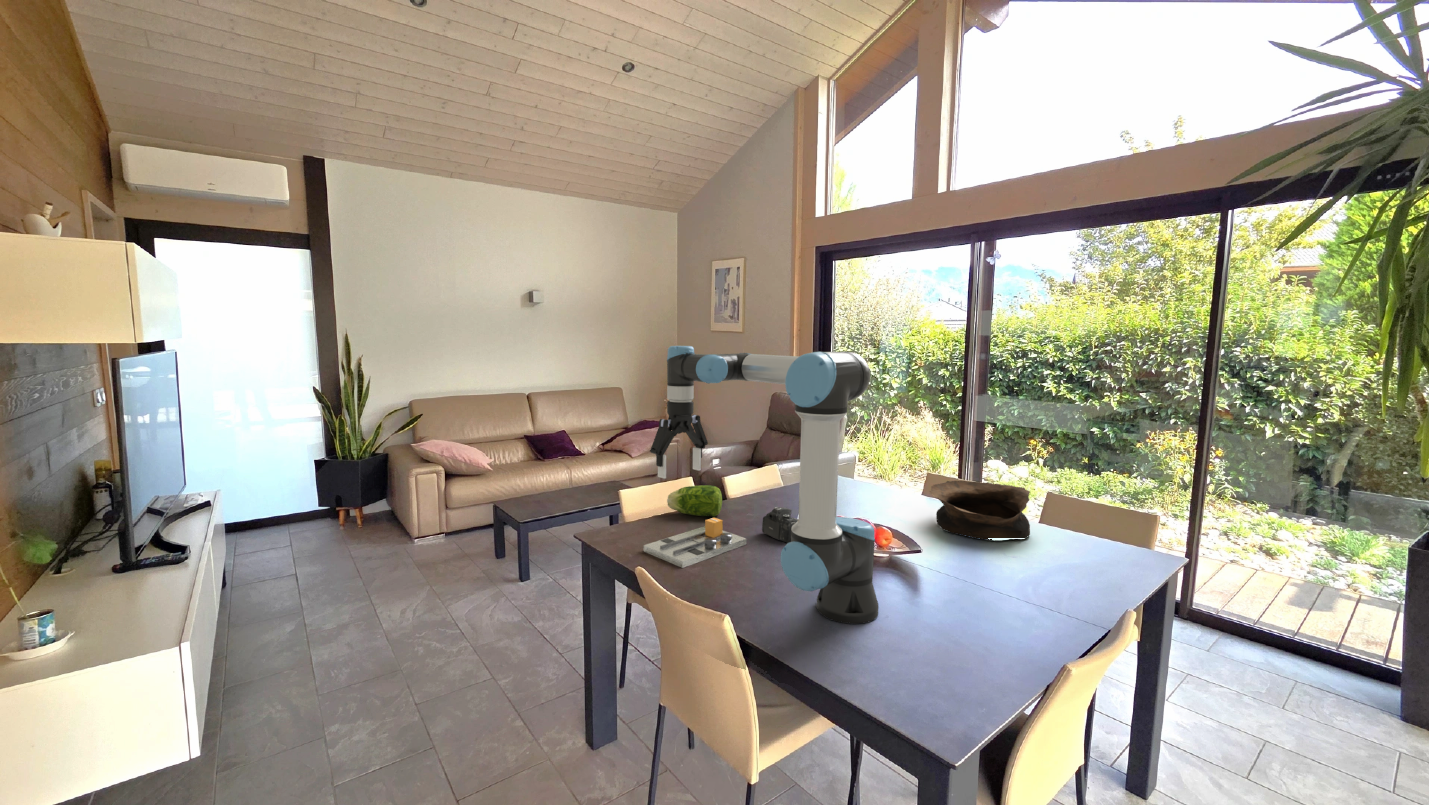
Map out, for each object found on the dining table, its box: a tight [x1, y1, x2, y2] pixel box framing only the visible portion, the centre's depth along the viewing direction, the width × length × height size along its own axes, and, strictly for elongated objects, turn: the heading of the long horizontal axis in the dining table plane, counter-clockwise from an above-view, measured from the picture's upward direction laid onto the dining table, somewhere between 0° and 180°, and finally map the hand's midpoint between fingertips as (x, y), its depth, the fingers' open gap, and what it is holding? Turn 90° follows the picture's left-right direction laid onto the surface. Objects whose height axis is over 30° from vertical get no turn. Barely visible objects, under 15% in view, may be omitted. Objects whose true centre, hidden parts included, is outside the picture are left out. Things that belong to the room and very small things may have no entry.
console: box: [643, 525, 748, 569], centre depth 193 cm, size 18×28×4 cm, turn 135°
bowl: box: [928, 480, 1031, 541], centre depth 215 cm, size 34×33×15 cm
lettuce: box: [666, 484, 723, 518], centre depth 227 cm, size 12×21×11 cm, turn 86°
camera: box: [761, 506, 798, 544], centre depth 204 cm, size 13×10×10 cm
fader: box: [704, 517, 724, 538], centre depth 199 cm, size 4×4×5 cm
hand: (679, 473), depth 175 cm, fingers open, 13 cm apart
